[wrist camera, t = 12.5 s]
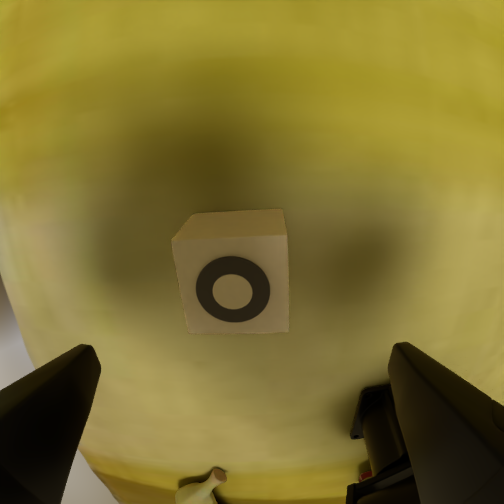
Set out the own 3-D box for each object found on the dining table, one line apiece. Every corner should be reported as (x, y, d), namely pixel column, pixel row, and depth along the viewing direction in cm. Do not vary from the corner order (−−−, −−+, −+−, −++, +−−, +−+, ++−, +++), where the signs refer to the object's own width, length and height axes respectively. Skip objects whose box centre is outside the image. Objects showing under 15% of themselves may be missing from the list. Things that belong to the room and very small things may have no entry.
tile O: (284, 288, 17) (289, 335, 13) (203, 291, 17) (187, 337, 13) (282, 208, 15) (287, 236, 11) (192, 213, 16) (169, 242, 12)
